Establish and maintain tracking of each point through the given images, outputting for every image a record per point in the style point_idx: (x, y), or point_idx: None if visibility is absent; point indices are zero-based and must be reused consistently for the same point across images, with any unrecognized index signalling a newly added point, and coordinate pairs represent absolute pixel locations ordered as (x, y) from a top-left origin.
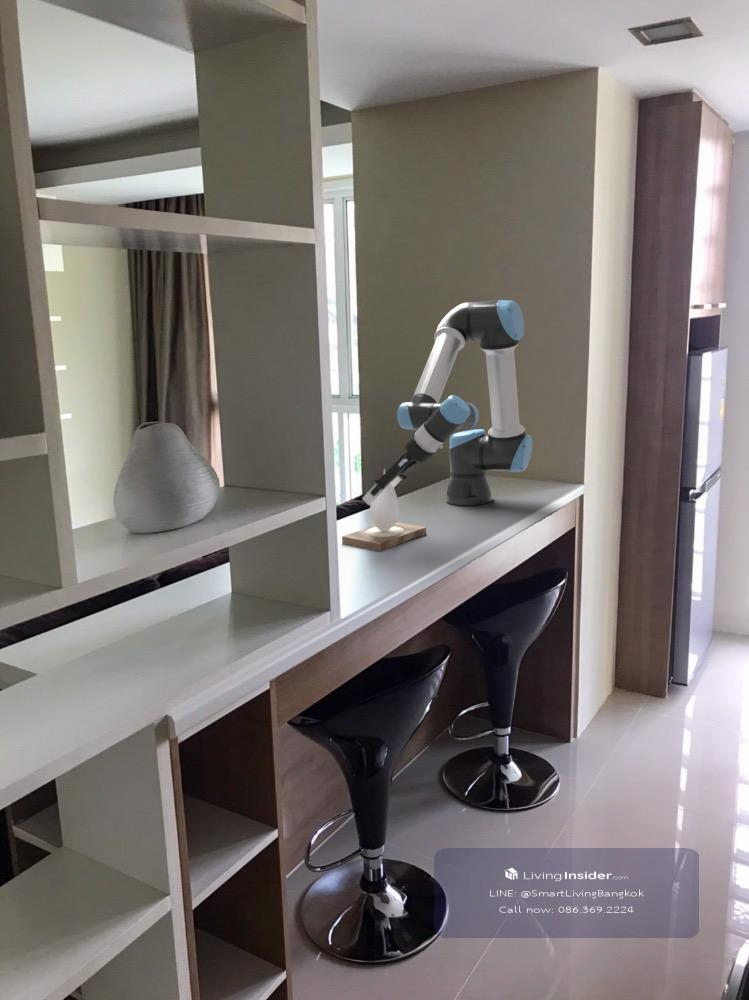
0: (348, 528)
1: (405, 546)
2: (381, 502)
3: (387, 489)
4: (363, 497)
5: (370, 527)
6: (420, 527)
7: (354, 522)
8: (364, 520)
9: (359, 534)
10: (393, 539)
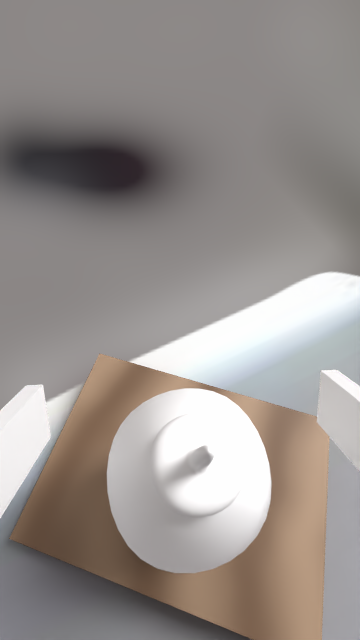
0: (254, 311)
1: (95, 632)
2: (107, 488)
3: (136, 527)
4: (21, 393)
5: (223, 393)
6: (303, 630)
7: (316, 300)
8: (349, 315)
9: (130, 396)
10: (89, 571)
